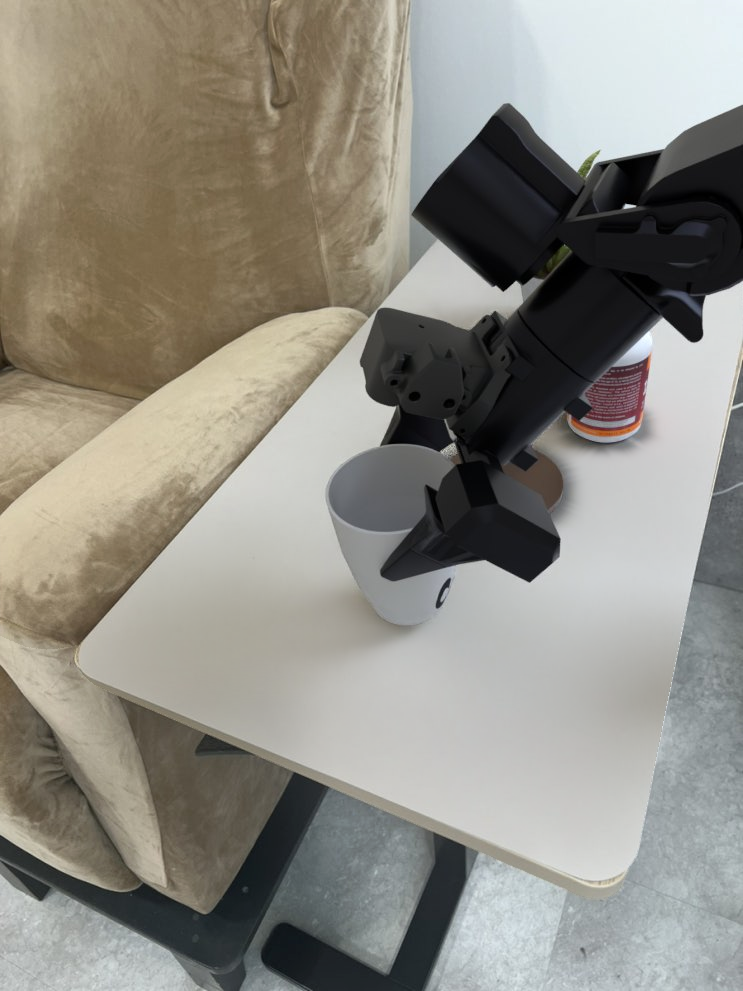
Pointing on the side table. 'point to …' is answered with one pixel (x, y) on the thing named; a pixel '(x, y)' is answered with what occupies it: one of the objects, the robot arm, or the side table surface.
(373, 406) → the side table surface
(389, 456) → the cup
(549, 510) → the coaster
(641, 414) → the pill bottle
